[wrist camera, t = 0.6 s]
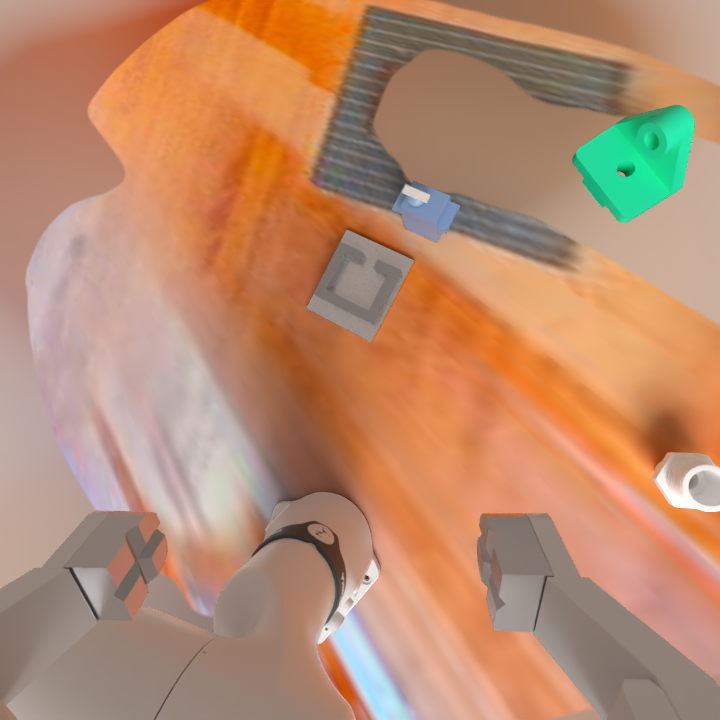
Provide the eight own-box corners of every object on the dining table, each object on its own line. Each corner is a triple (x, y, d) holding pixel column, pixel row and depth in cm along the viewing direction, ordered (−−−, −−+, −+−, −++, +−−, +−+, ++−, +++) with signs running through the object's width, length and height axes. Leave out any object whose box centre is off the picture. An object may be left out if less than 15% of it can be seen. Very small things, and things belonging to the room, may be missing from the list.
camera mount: (566, 162, 55) (594, 113, 45) (616, 130, 54) (655, 72, 44) (618, 228, 53) (658, 193, 43) (670, 196, 52) (724, 151, 42)
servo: (446, 246, 58) (446, 222, 49) (397, 225, 60) (388, 198, 51) (458, 223, 58) (461, 194, 49) (409, 202, 60) (403, 171, 51)
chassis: (372, 342, 60) (369, 341, 57) (307, 309, 62) (302, 306, 60) (414, 261, 59) (413, 256, 57) (347, 231, 62) (343, 225, 59)
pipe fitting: (636, 446, 51) (670, 457, 43) (698, 448, 50) (746, 460, 42) (637, 494, 51) (672, 515, 43) (701, 498, 49) (749, 520, 42)
